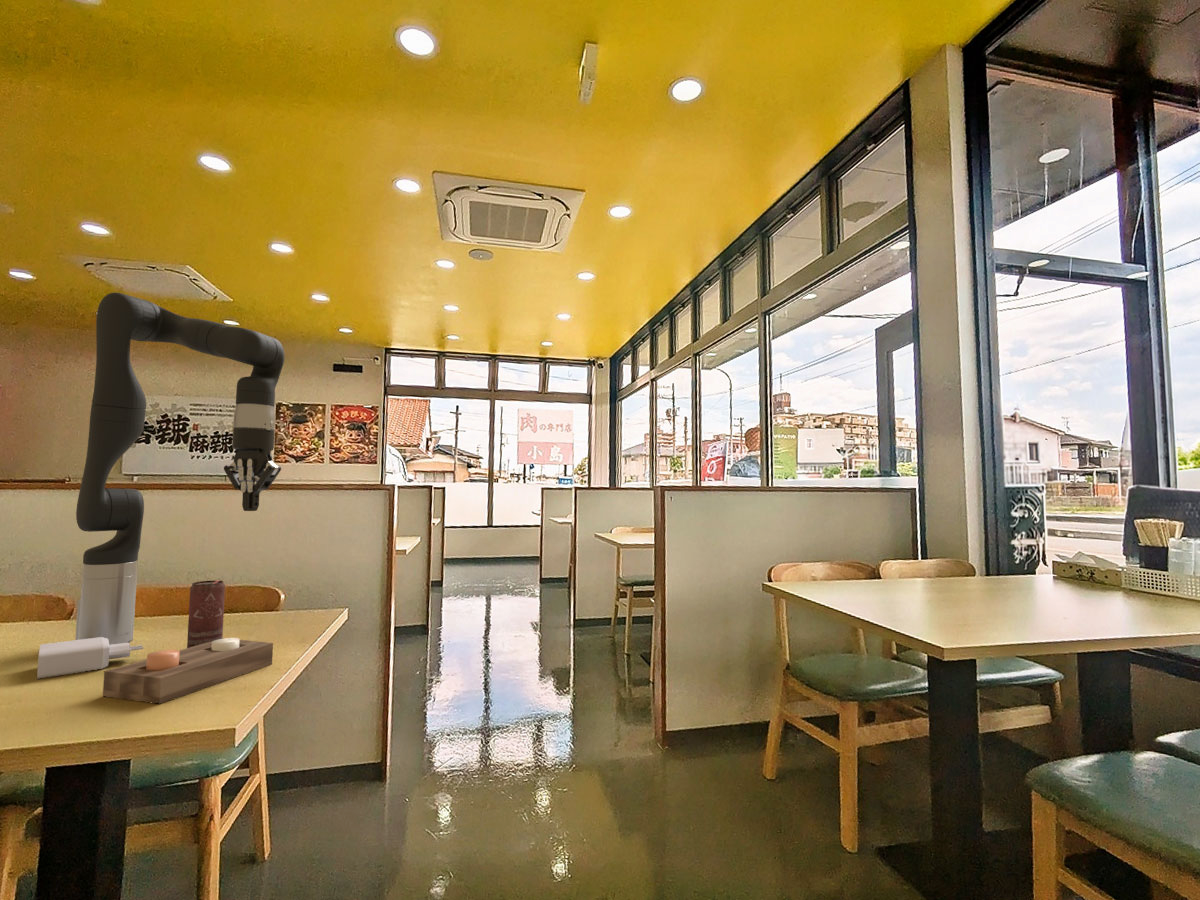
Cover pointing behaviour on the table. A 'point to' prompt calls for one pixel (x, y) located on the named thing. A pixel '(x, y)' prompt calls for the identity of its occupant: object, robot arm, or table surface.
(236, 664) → the button panel
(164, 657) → the terracotta button
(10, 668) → the table surface
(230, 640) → the offwhite button
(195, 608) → the can
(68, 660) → the charger
